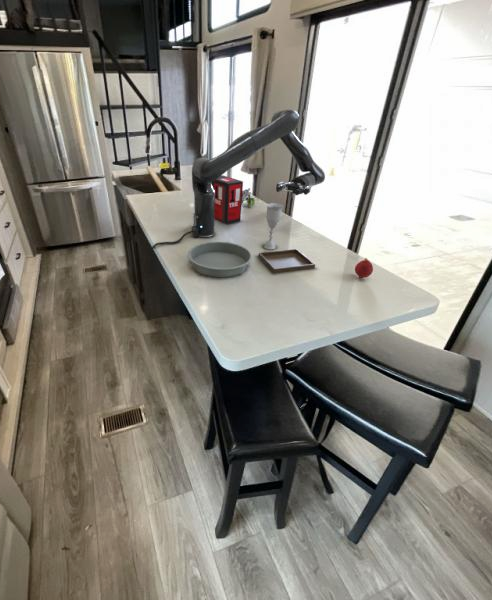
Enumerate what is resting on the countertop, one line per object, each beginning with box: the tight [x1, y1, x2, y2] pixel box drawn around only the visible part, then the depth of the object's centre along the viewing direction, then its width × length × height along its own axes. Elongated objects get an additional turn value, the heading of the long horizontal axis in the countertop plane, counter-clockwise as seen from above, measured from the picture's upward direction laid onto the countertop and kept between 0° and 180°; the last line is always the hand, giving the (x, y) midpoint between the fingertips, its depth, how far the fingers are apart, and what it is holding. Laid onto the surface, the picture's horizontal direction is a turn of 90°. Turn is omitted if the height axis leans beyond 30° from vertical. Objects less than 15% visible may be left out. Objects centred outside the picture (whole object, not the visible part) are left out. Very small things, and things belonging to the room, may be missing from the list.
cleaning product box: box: [212, 174, 244, 225], centre depth 165 cm, size 16×9×20 cm, turn 34°
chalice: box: [263, 202, 284, 250], centre depth 134 cm, size 7×7×18 cm
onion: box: [354, 257, 374, 280], centre depth 114 cm, size 6×6×8 cm
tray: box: [257, 248, 316, 274], centre depth 126 cm, size 17×15×2 cm
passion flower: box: [242, 187, 259, 209], centre depth 189 cm, size 11×11×12 cm
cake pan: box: [187, 241, 253, 278], centre depth 123 cm, size 25×25×4 cm
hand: (286, 191), depth 134 cm, fingers open, 8 cm apart
